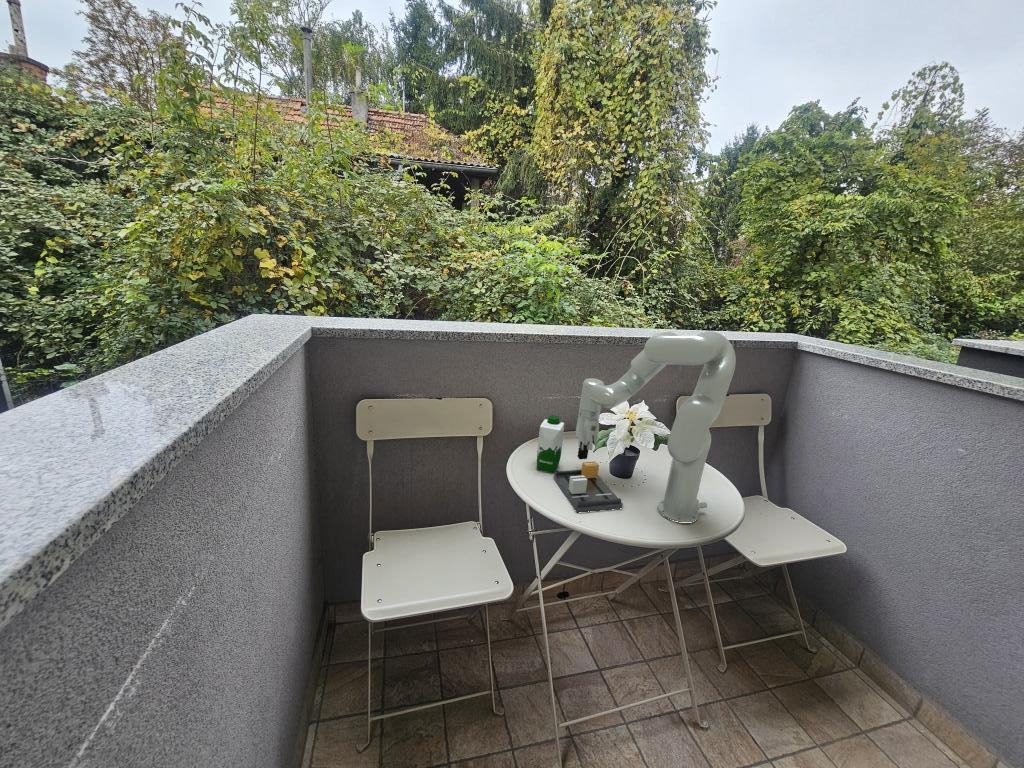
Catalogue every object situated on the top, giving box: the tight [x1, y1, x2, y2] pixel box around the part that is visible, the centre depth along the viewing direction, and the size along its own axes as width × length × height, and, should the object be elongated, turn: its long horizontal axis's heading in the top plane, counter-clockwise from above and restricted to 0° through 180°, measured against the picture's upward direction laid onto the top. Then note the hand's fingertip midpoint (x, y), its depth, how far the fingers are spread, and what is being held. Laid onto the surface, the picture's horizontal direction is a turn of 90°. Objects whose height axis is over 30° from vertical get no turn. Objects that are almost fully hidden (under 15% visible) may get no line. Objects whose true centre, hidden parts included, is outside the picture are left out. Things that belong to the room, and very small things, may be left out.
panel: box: [553, 469, 624, 514], centre depth 153 cm, size 16×22×3 cm
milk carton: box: [536, 414, 565, 475], centre depth 166 cm, size 9×9×20 cm
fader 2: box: [581, 461, 600, 479], centre depth 159 cm, size 5×3×5 cm, turn 105°
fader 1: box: [569, 475, 587, 494], centre depth 149 cm, size 5×3×5 cm, turn 105°
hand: (582, 458), depth 165 cm, fingers closed
